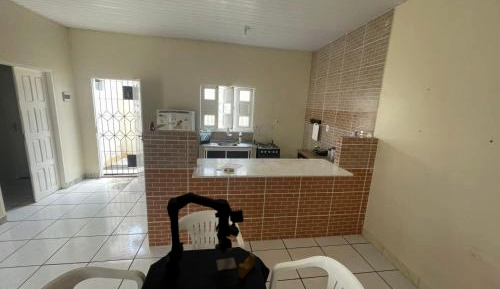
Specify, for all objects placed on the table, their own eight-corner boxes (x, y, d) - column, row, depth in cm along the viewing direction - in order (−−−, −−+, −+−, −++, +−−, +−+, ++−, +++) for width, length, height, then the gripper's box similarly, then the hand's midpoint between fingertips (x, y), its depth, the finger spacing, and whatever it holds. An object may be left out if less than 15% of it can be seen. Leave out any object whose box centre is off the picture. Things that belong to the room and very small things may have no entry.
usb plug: (215, 255, 114) (215, 248, 113) (214, 250, 118) (214, 244, 117) (232, 253, 116) (232, 246, 116) (231, 248, 120) (231, 241, 120)
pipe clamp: (248, 262, 122) (248, 251, 121) (254, 265, 120) (255, 254, 118) (235, 275, 112) (235, 263, 111) (242, 278, 110) (242, 267, 108)
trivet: (217, 271, 114) (218, 270, 114) (216, 260, 121) (216, 260, 121) (236, 268, 116) (236, 267, 116) (233, 258, 124) (233, 257, 124)
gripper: (242, 231, 108) (241, 259, 110) (234, 214, 126) (234, 238, 128) (220, 234, 105) (219, 262, 107) (215, 215, 122) (215, 240, 125)
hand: (222, 250), depth 117 cm, fingers closed on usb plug, 4 cm apart
